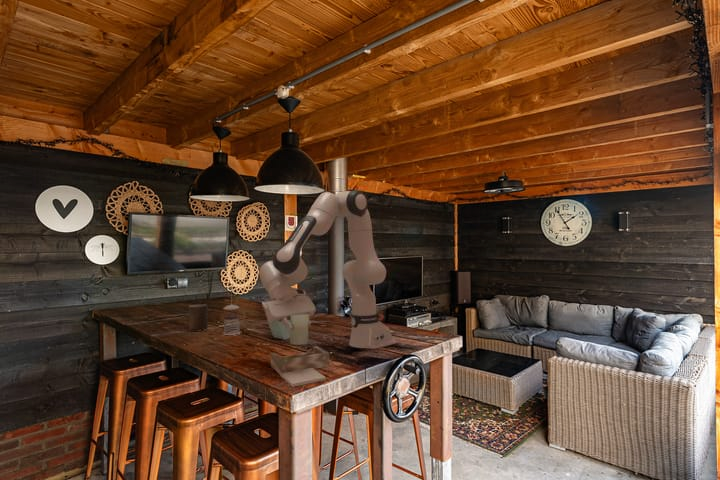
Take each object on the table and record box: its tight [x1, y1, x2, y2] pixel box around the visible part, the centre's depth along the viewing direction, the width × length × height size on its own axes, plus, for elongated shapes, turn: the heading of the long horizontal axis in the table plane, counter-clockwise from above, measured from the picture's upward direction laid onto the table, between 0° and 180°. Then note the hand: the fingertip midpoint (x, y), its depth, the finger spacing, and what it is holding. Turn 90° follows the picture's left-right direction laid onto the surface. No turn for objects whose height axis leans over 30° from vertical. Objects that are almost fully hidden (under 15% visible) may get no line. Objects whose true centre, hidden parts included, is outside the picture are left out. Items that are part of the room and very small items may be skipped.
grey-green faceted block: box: [267, 319, 290, 341], centre depth 197 cm, size 17×8×21 cm
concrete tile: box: [280, 368, 326, 388], centre depth 135 cm, size 12×12×1 cm
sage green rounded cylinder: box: [289, 313, 309, 346], centre depth 140 cm, size 6×6×10 cm
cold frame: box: [270, 345, 330, 376], centre depth 148 cm, size 19×12×5 cm, turn 120°
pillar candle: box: [188, 303, 208, 331], centre depth 214 cm, size 10×10×15 cm
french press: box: [222, 286, 246, 336], centre depth 205 cm, size 10×12×25 cm
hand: (300, 327), depth 139 cm, fingers closed on sage green rounded cylinder, 6 cm apart
